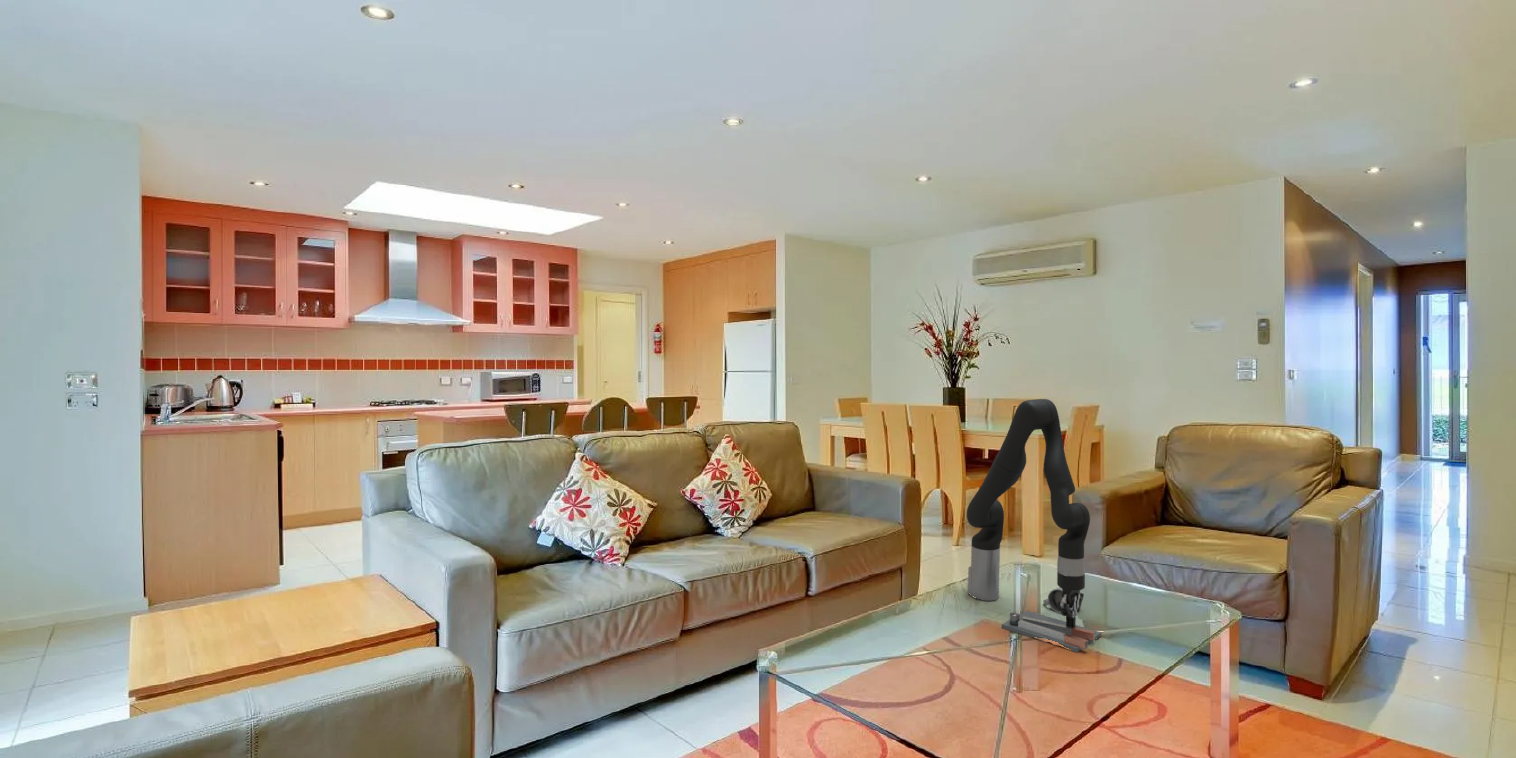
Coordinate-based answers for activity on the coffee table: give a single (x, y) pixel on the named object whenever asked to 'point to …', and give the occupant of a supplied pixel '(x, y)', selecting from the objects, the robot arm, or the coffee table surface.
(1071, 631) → the tongs free arm
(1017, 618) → the tongs fixed arm
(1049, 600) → the ceramic mug
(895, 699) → the coffee table surface
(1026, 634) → the board
